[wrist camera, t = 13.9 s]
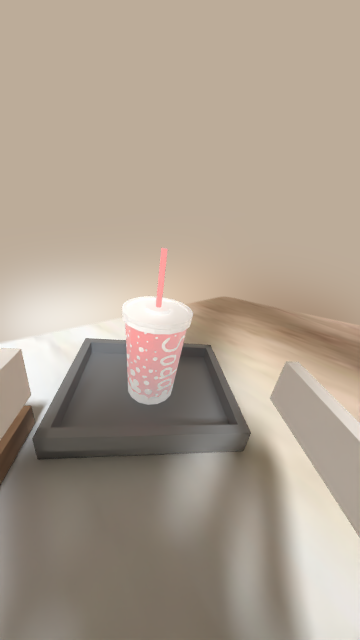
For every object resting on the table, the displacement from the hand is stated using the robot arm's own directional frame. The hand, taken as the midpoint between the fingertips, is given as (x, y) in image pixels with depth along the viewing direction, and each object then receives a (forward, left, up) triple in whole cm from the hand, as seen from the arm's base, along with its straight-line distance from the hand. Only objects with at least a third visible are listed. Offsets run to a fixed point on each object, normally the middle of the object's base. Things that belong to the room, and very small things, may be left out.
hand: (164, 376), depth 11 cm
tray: (0, -8, -10) cm, 13 cm away
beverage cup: (0, -8, -9) cm, 12 cm away
